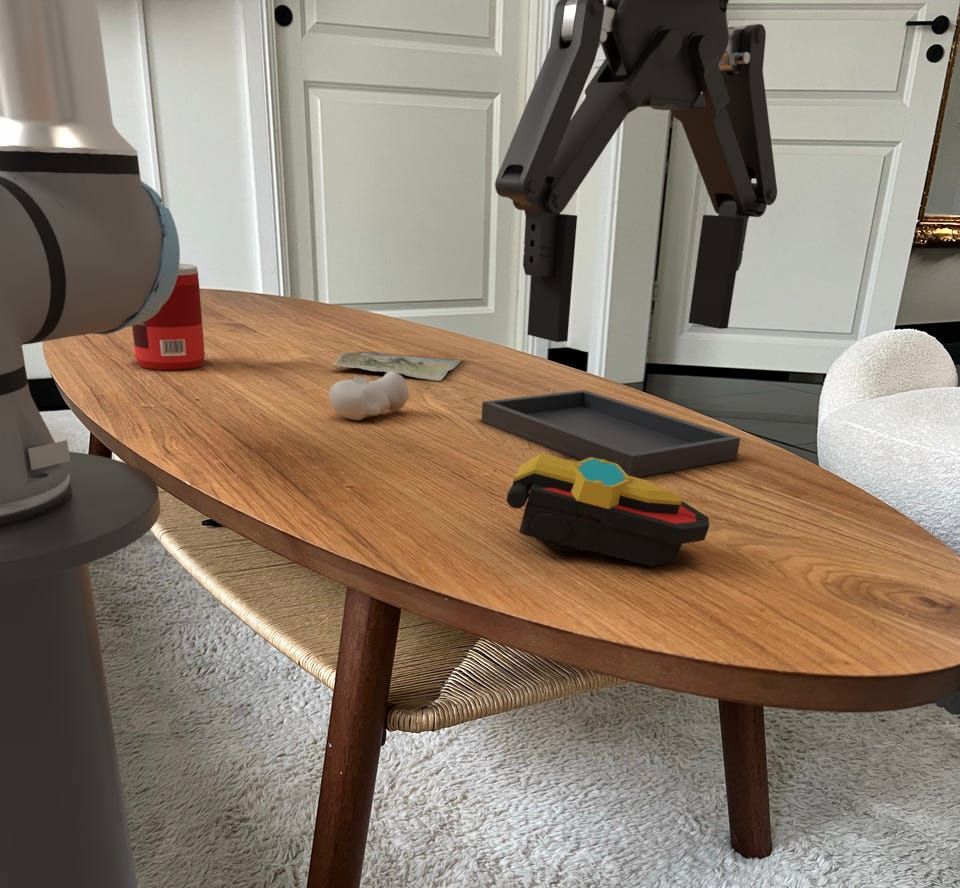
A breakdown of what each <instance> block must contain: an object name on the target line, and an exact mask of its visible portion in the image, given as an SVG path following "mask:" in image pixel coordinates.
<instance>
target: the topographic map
mask: <svg viewBox="0 0 960 888" xmlns="http://www.w3.org/2000/svg"><path fill="white" fill-rule="evenodd" d="M460 363H461V360H458V359H445V358H444V359H443V358H434V357H433V358H432V357H419V356H407V355H394V354H383V353H382V354H381V353H372V352H371V353H370V352H369V353H367V352H361V353H359V354H358V353H353V352H346V351H345V352H343V353H342V354H341V355H340V356H339V357H338V358H337V359H336V360H335V361H334V362H333V363H331V364H330V366H338V367H344V368H351V369H355V368H356V369H361V370H365V371H370V372H383V373H387V372H389V371H393V372H395V373H397V374H399V375H404V376H407V377H412V378H416V379H422V380H427V381H438V382H441V381H442V380H443V379H444V378H445V377H446V375H447V374H448V372H449V371H452V370H454V369H455V368H456V367H457V366H458V365H459V364H460Z"/></svg>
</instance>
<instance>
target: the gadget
mask: <svg viewBox="0 0 960 888" xmlns="http://www.w3.org/2000/svg"><path fill="white" fill-rule="evenodd" d="M506 502H507V504H508V506H509V507H510V508H512V509H521V508H523V507H524V506H525V508H524V510H523V514H522V520H521V524H520V527H519V533H520V534H522V536H526V537H529V538H530V537H531V538H534V539H536V540H537V541H538V542H539V543H540V544H542V545H543V546H545V547H547V548H549V549H553V550H556V551H560V552H569V553H580V552H581V551H588V552H594V553H598V554H602V555H606V556H609V557H614V558H619V559H622V560H625V561H629V562H634V563H638V564H641V565H645V566H648V567H654V566H661V565H666V564H673V563H677V560H678V557H679V554H680V551H681V549H682V545H685V544H691V543H697V542H703V541H704V540H706V536H707V534H708V532H709V528H710V518H709V516H707V515H706V514H704V513H702V512H701V511H699V510H697V509H696V508H694V507H692V506H691V505H689V504H688V503H687V502H685V501H683V500H682V498H680V497H679V496H678V495H677V494H675V493H674V492H673V491H671V490H669V489H666V488H665V487H663V486H660V485H658V484H657V483H653V482H651V481H648V479H647V480H646V479H644V478H640V477H639V478H636V477H632V476H628V475H627V474H626V473H625V472H624V471H623V469H622V468H621V467H620V466H619V465H618V464H616V463H612V462H608V461H606V460H603V459H597V458H593V457H590V458H587V459H585V460H579V461H577V462H576V461H573V460H569V459H565V458H563V457H562V458H561V457H558V456H554V455H549V454H546V453H541V452H540V454H538V455H536V456H534V457H533V458H531V459H529V460H528V461H526V462H524V463H523V464H521V465H520V466H519V467H518V470H517V472H516V474H515V475H514V477H513V481H512V485H511V486H510V488H509V491H508V492H507V494H506Z"/></svg>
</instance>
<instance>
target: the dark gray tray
mask: <svg viewBox="0 0 960 888" xmlns="http://www.w3.org/2000/svg"><path fill="white" fill-rule="evenodd" d="M481 422H482V423H485V424H488V425H490V426H492V427H495V428H497V429H500V430H503V431H505V432H508V433H510V434H512V435H516V436H518V437H520V438H523V439H526V440H529V441H531V442H534V443H536V444H539V445H541V446H543V447H547V448H549V449H552V450H554V451H557V452H559V453H562V454H564V455H567V456H570V457H572V458H575V459H578V460H579V461H582V460H585V459H587V458H590V457H593V458H597V459H603V460H606V461H608V462H612V463H616V464H618V465H619V466H620V467H621V468H622V469H623V471H624V472H625V473H626V474H627V475H628V476H632V477H636V478H639V479H640V478H645V477H648V476H654V475H660V474H666V473H671V472H675V471H676V472H677V471H682V470H686V469H691V468H697V467H702V466H707V465H712V464H713V465H714V464H718V463H723V462H729V461H734V460H737V459H738V454H739V448H740V442H741V437H738V436H735V435H732V434H729V433H726V432H722V431H719V430H717V429H714V428H713V429H712V428H709V427H706V426H702V425H699V424H697V423H693V422H690V421H686V420H683V419H680V418H677V417H673V416H670V415H667V414H663V413H660V412H658V411H654V410H651V409H647V408H644V407H641V406H638V405H635V404H631V403H628V402H625V401H621V400H618V399H614V398H611V397H608V396H605V395H602V394H599V393H595V392H593V391H588V390H585V389H580V390H571V391H563V392H555V393H547V394H546V393H545V394H538V395H529V396H519V397H512V398H503V399H493V400H484V401H482V403H481Z"/></svg>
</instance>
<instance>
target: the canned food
mask: <svg viewBox="0 0 960 888" xmlns="http://www.w3.org/2000/svg"><path fill="white" fill-rule="evenodd" d="M199 278H200V277H199V272H198V266H196V265H194V264H191V263H182V262H181V263H180V262H179V271H178V276H177V280H176V283H175V286H174V289H173V291H172V293H171V295H170V297H169V299H168V300H167V302H165V304H164V305H163V306H162V307H161V309H160V310H159V312H158V313H157V314H156V315H154V316H153V317H152V318H150V319H149V320H147V321H145V322H143V323H140V324H137V325H133V326H131V329H132V330H131V331H132V337H133V338H132V339H133V346H134V354H135V355H134V356H135V359H136V361H137V363H138V366H140V367H142V368H144V369H149V370H159V371H183V370H190V369H196V368H199V367H201V366H202V365H203V364H204V363H205V357H206V356H205V355H206V353H205V341H204V328H203V327H204V326H203V315H202V303H201V291H200V290H201V289H200V280H199Z"/></svg>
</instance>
